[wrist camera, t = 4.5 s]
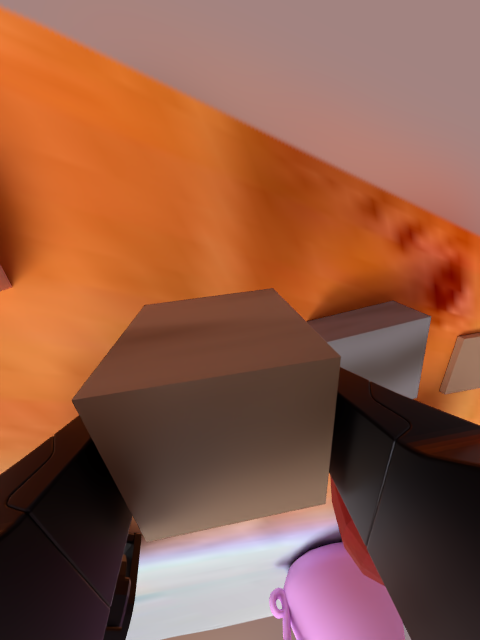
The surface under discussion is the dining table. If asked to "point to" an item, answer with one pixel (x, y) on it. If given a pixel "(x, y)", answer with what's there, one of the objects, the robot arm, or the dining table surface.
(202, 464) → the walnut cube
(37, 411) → the dining table surface
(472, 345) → the tile
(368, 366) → the grey flat block
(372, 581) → the pink pot
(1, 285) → the pale pink cube
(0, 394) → the dining table surface
